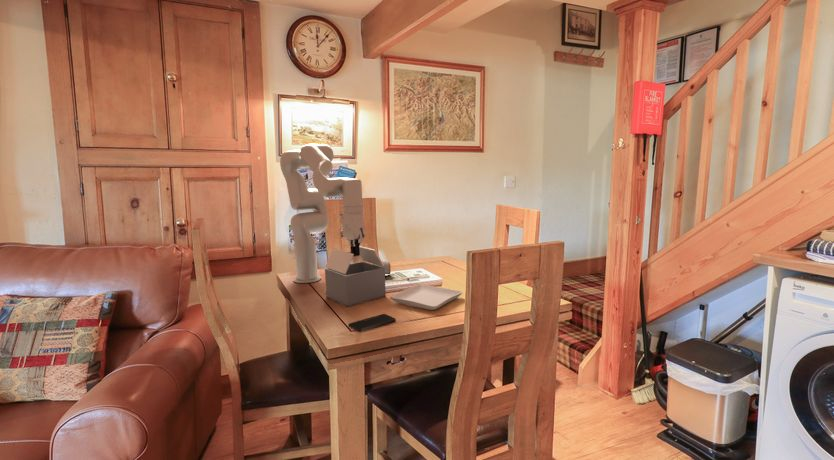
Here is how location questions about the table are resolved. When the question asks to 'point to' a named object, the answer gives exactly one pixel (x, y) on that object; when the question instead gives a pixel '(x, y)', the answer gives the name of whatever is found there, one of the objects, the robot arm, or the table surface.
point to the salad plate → (425, 296)
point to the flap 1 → (339, 261)
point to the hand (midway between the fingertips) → (355, 255)
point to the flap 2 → (370, 256)
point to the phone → (372, 322)
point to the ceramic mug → (386, 266)
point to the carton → (356, 284)
